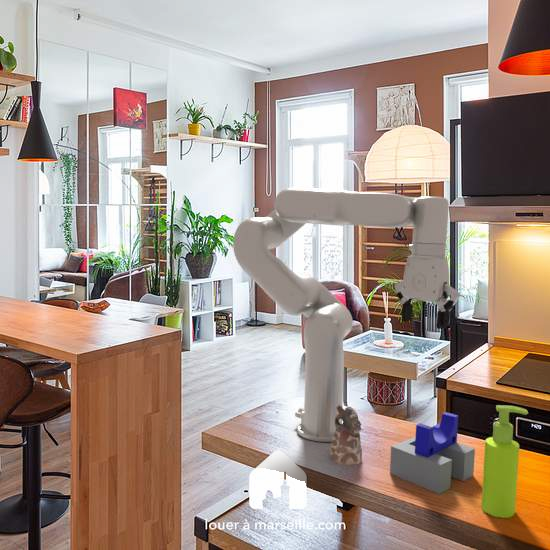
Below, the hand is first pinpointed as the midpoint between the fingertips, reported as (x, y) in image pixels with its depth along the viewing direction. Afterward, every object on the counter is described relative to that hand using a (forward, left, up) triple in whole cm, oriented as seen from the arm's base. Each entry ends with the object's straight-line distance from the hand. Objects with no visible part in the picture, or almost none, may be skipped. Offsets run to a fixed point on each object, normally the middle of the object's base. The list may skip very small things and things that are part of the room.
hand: (423, 324), depth 135 cm
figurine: (-7, -18, -30) cm, 36 cm away
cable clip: (+10, -10, -24) cm, 28 cm away
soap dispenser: (+27, -13, -30) cm, 43 cm away
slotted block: (+10, -10, -30) cm, 33 cm away
